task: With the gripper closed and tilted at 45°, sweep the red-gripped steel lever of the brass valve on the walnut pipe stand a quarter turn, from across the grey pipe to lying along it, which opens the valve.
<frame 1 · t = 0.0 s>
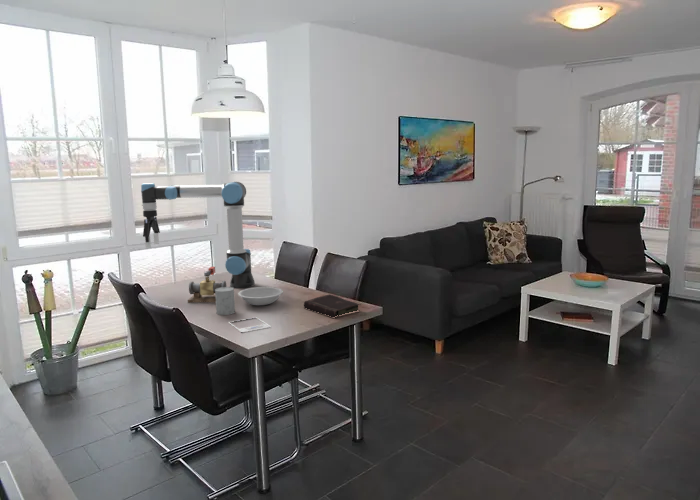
hand: (152, 245, 304), 28 cm above the table, tool pointing down, fingers open, 13 cm apart
diary: (332, 311, 268), on the table
valve stand: (208, 299, 291), on the table
soup bowl: (261, 304, 281), on the table
speckled concrete cylinder: (225, 312, 266), on the table
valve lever: (209, 272, 294), point 14 cm above the table, hinge at 0.0°
photo frame: (249, 326, 245), on the table
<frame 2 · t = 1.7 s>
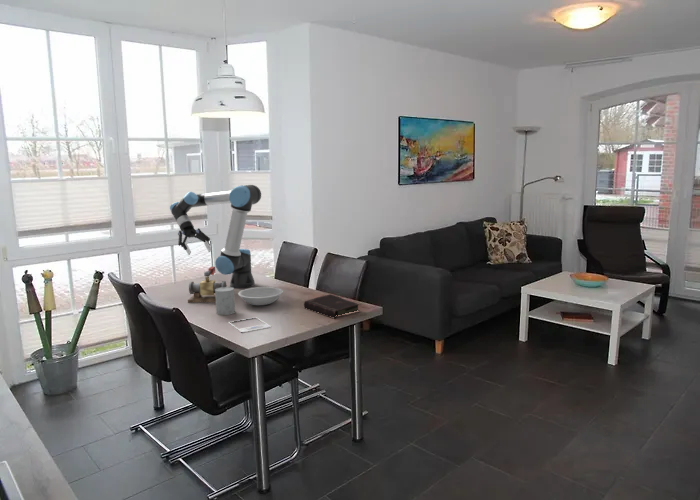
hand: (200, 252, 304), 24 cm above the table, tool tilted 45°, fingers open, 13 cm apart
nothing on the table moved.
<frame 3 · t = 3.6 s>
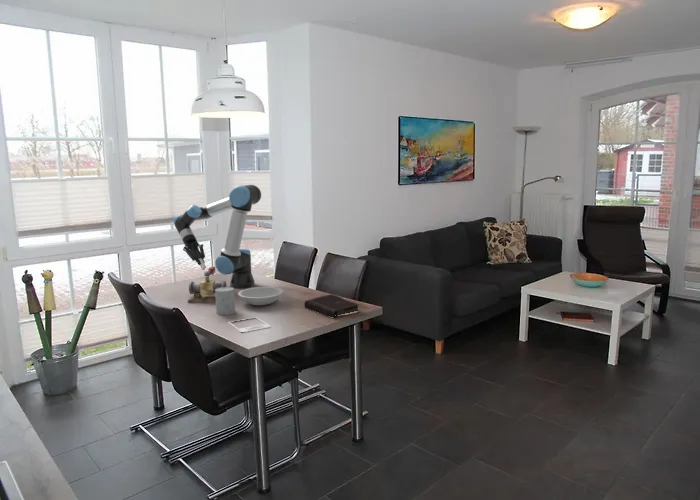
hand: (204, 268, 304), 15 cm above the table, tool tilted 45°, fingers closed
nothing on the table moved.
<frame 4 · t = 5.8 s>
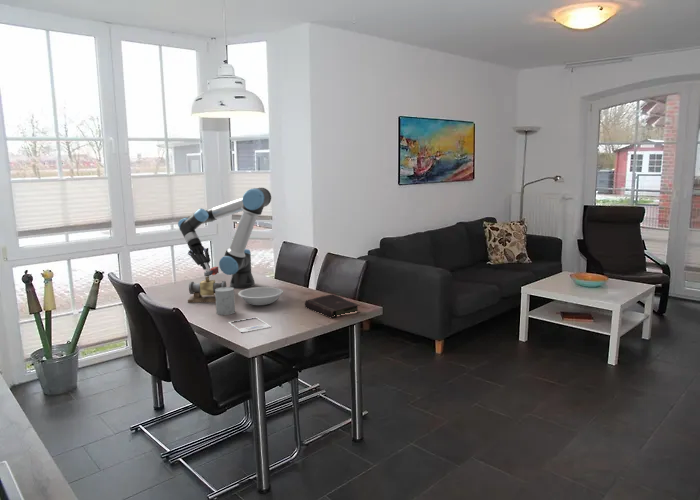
hand: (209, 273, 298), 13 cm above the table, tool tilted 45°, fingers closed
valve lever: (211, 272, 294), point 14 cm above the table, hinge at 8.2°, touching gripper
everything else where it was.
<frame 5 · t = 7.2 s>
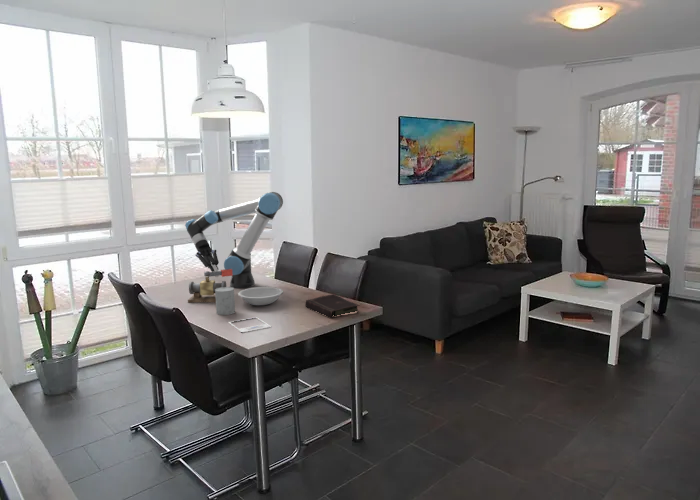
hand: (217, 275, 293), 13 cm above the table, tool tilted 45°, fingers closed
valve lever: (218, 273, 291), point 14 cm above the table, hinge at 62.8°, touching gripper
everything else where it was.
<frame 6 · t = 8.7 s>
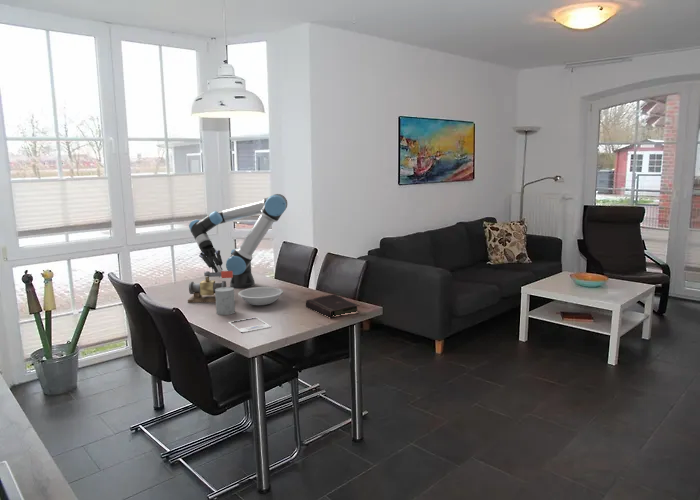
hand: (221, 275, 291), 13 cm above the table, tool tilted 45°, fingers closed
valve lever: (218, 274, 289), point 14 cm above the table, hinge at 86.1°, touching gripper
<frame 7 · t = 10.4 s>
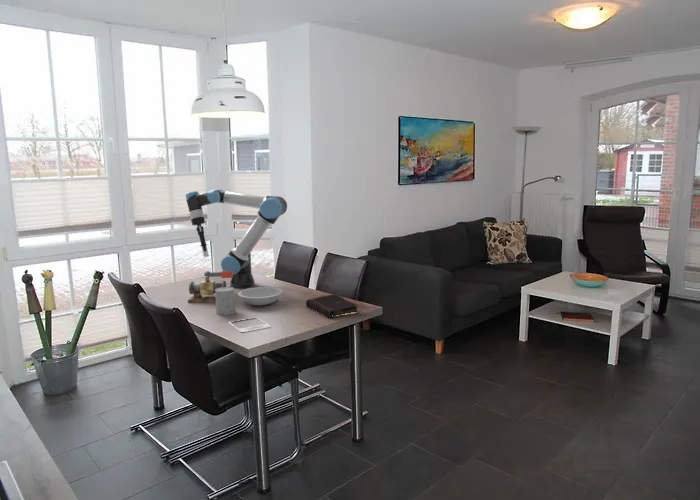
hand: (206, 256, 304), 21 cm above the table, tool tilted 15°, fingers closed
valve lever: (218, 274, 289), point 14 cm above the table, hinge at 86.0°
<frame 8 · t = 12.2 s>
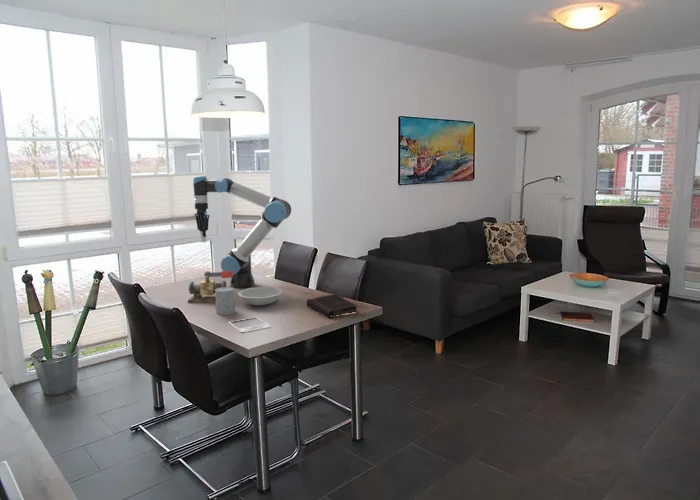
hand: (203, 241, 308), 29 cm above the table, tool pointing down, fingers closed
at the end: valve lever at +86° (first picture: +0°); speckled concrete cylinder moved 0.2 cm from its start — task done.
